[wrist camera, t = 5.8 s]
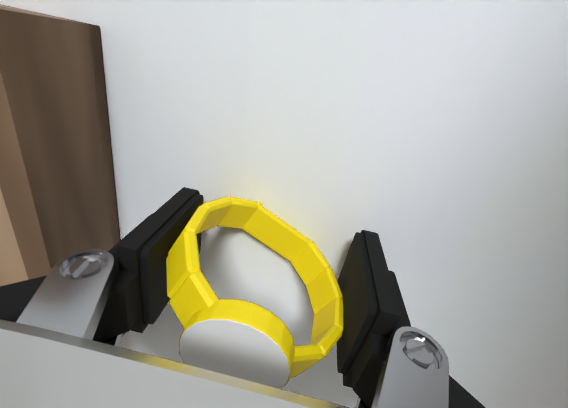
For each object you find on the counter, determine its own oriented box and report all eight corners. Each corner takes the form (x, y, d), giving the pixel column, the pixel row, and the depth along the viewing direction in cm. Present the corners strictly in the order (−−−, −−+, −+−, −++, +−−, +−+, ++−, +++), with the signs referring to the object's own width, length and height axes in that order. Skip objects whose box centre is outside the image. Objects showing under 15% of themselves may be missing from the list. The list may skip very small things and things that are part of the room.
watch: (207, 212, 12) (98, 317, 7) (240, 164, 11) (138, 247, 6) (314, 292, 13) (291, 446, 7) (357, 255, 12) (366, 407, 6)
